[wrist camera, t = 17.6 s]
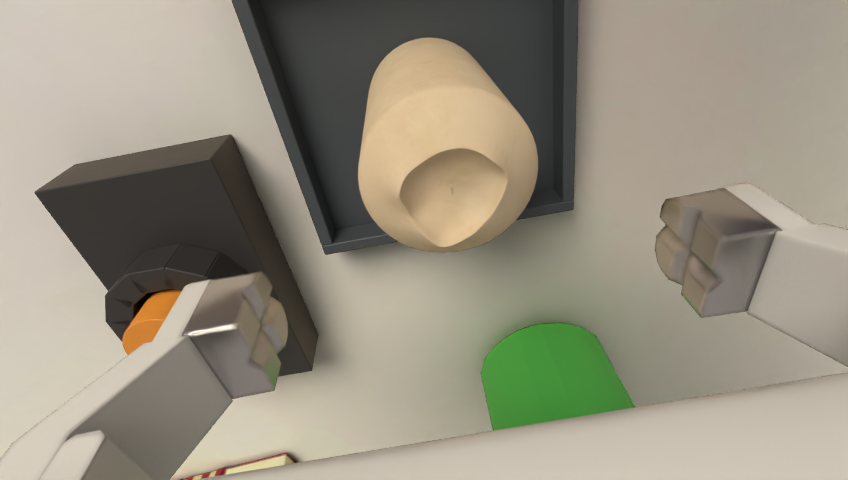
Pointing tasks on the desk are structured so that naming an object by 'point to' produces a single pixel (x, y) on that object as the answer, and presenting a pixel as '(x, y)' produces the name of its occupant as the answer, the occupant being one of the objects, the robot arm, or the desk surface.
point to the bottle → (550, 377)
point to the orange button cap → (149, 319)
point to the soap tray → (353, 71)
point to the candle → (442, 150)
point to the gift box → (248, 466)
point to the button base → (175, 231)
